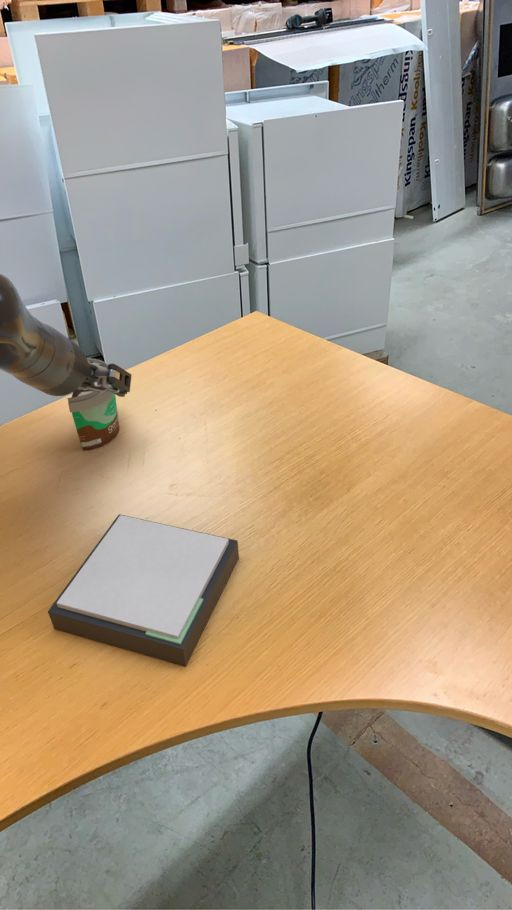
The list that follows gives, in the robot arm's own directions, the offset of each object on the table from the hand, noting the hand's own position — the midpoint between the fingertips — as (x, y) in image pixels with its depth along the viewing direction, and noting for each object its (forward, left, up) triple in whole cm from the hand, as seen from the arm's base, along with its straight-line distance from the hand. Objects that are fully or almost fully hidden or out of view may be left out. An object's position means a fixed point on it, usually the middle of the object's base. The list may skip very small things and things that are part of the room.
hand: (95, 388), depth 96 cm
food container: (0, +1, -8) cm, 8 cm away
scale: (+21, -26, -8) cm, 35 cm away
